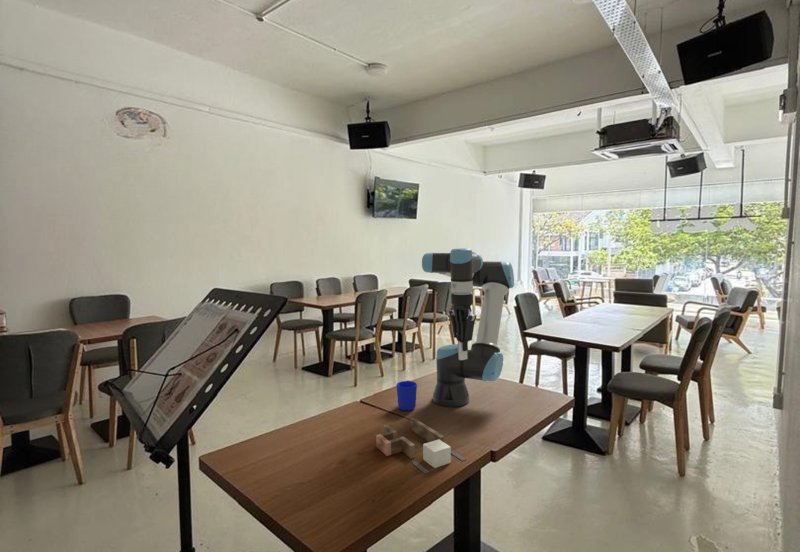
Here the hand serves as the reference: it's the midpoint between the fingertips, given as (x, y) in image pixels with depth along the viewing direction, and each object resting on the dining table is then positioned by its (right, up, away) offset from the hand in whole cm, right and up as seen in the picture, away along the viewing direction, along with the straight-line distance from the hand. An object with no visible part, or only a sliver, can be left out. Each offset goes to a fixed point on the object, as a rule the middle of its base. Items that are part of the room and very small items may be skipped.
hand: (463, 359), depth 152 cm
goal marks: (-10, -27, -22) cm, 36 cm away
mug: (-19, -24, +23) cm, 38 cm away
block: (-11, -27, -21) cm, 36 cm away
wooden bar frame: (-20, -26, -10) cm, 35 cm away
